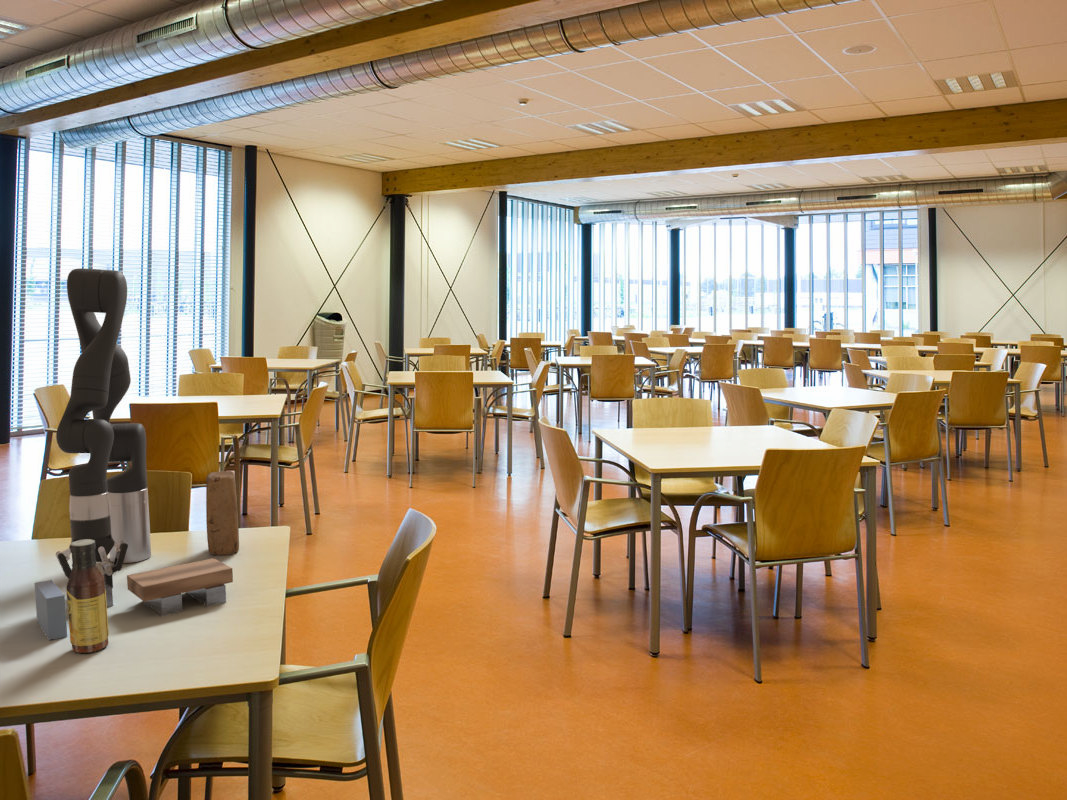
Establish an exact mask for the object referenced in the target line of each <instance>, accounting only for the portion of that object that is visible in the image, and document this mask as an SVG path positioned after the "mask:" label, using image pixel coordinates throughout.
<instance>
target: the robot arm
mask: <svg viewBox="0 0 1067 800" xmlns="http://www.w3.org/2000/svg"><path fill="white" fill-rule="evenodd" d="M127 284H128V283H127V279H126V277H125V275H124V274H123V273H122V272H121V271H119V270H114V269H113V270H112V269H100V268H99V269H97V268H84V267H83V268H73V269H71V271H70V272H69V273H68V276H67V280H66V293H67V294H66V295H67V299H68V304H69V307H70V311H71V314H72V317H73V321H74V325H75V328H76V332H77V336H78V340H79V346H80V350H81V354H80V355H79V357H78V358H77V359H76V362H75V365H74V367H73V371H72V378H71V387H70V388H71V389H70V397H69V400H68V402H67V405H66V407H65V409H64V412H63V414H62V416H61V419H60V421H59V423H58V426H57V429H56V432H55V433H56V436H55V437H56V438H55V439H56V444H57V445H58V448H59V449H60V451H62V452H63V453H66V454H90V457H89V460H88V461H87V463H82V464H77V465H74V466H72V467H71V468H70V469H69V471H68V484H69V507H68V508H69V522H70V523H69V525H70V538H71V539H70V544H71V543H72V542H75V541H78V540H84V539H91V540H94V541H95V544H96V548H95V560H96V563H100V564H101V565H100V566H101V568H102V570H103V572H104V573H102V574H103V576H104V581H105V582H107V583H108V584H109V585H110V586H111V587H112V589H113V588H114V581H113V575H114V574H115V573H117V572H119V571H122V567H123V564H129V563H131V564H132V563H137V562H141V561H145V560H147V559H149V558H151V557H152V550H151V549H152V547H151V525H150V511H149V510H150V507H149V493H148V491H149V490H148V488H149V487H148V475H147V473H148V471H147V433H146V429H145V426H144V425H143V424H142V423H140V422H139V423H137V422H136V423H135V422H133V423H131V422H129V423H114V424H112V423H111V422H110V419H111V418H112V415H113V414H114V411H115V410H116V408H117V407H118V405H119V403H120V402H121V401H122V400H123V399H124V397H125V396H126V394H127V393H128V390H129V389H130V385H131V380H132V379H131V373H130V365H129V360H128V356H127V354H126V352H125V351H124V349H123V348H122V347H121V345H119V344H118V340H119V337H120V332H121V328H122V324H123V323H122V322H123V319H124V315H125V311H126V306H127V300H128V299H127V298H128V285H127ZM95 313H100V314H105V315H104V319H103V322H102V325H101V324H100V322H99V321H98V319H97V317H96V314H95ZM90 412H92V419H88V418H87V419H85V418H86V417H87V415H88V414H89V413H90ZM124 462H125V463H128V462H131V466H130V467H129V468H127V469H126V470H124V471H123V472H120V473H118V474H114V475H112V476H110V477H108V475H107V474H108V466H109V463H124ZM71 555H72V553H71V551H70V545H69V547H68V548H66V549H65V550H61V551H59V550H58V551H57V552H56V553H55V557H56V559H57V561H58V563H59V565H60V567H61V570H62V572H63V573H64V575H65V577H66V578H67V579H68V580H69V577H70V574H71V570H72V568H71V565H70V564H69V560H71V557H70V556H71ZM108 557H109V558H108ZM110 562H111V563H113V564H112V565H111V564H110Z"/></svg>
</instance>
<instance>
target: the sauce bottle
mask: <svg viewBox="0 0 1067 800" xmlns="http://www.w3.org/2000/svg"><path fill="white" fill-rule="evenodd" d="M69 546H70V551H71V561H72V562H71V567H72V568H71V574H70V577H69V579H68V581H67V582H66V583H67V584H66V587H65V590H66V603H67V604H66V605H67V613H68V614H67V615H68V616H67V617H68V630H69V641H70V644H71V649H72V651H73V652H74V653H76V652H77V653H78V654H79V653H80V654H81V653H82V654H88V653H95V652H99V651H101V650H103V649H105V648H106V647H107V646H108V645H109V635H110V631H109V630H110V629H109V618H108V617H109V616H108V607H107V602H106V589H105V586H104V576H103V574H104V573H102V571H101V570H100V569H99V568H98V566H97V562H96V560H95V548H96V544H95V541H94V540H91V539H84V540H78V541H75V542H72V543H71V542H70V545H69ZM77 653H76V654H77Z"/></svg>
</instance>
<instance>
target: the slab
mask: <svg viewBox="0 0 1067 800" xmlns="http://www.w3.org/2000/svg"><path fill="white" fill-rule="evenodd" d="M233 575H234V573H233V567H231V566H229V565H227V564H225V563H223V562H222V561H220V560H218V559H216V558H213V557H211V558H207V559H204V560H202V559H201V560H198V561H193V562H187V563H183V564H178V565H172V566H168V567H166V566H165V567H162V568H158V569H157V568H156V569H151V570H146V571H143V572H136V573H132V574H127V575H126V583H127V584H126V586H127V591H129V592H130V593H132V594H133V595H134V596H136V597H137V598H139V600H141V601H142V602H143V601H149V600H154V599H158V598H163V597H167V596H172V595H176V594H184V593H186V592H190V591H195V590H199V589H204V588H208V587H213V586H217V585H222V584H224V585H227V584H230V583H233V582H234V578H233V577H234V576H233Z"/></svg>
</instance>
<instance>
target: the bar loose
mask: <svg viewBox="0 0 1067 800" xmlns="http://www.w3.org/2000/svg"><path fill="white" fill-rule="evenodd" d="M104 586H105V589H106V602H107V608H108V607H109V606H110V607H114V597H113V588H112V587H111V586H110V585H109V584H108V583H107V582H105V581H104ZM110 607H109V608H110Z"/></svg>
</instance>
